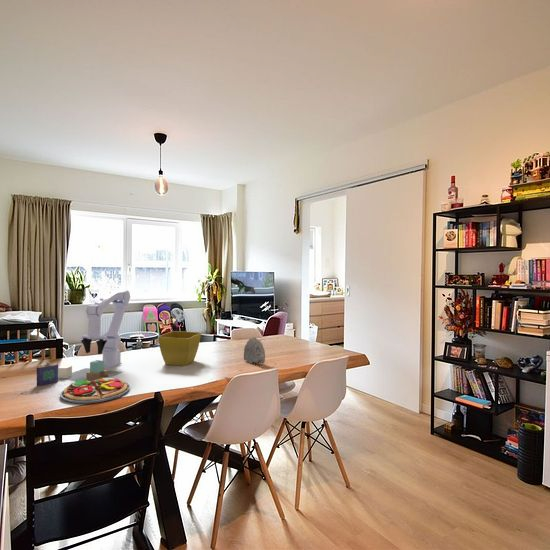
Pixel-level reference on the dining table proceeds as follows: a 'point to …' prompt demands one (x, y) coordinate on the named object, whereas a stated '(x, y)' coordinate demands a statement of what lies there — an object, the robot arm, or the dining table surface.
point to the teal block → (96, 366)
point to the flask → (47, 374)
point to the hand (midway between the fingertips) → (93, 353)
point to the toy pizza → (94, 390)
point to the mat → (82, 375)
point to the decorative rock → (254, 351)
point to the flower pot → (179, 347)
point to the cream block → (64, 371)
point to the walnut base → (97, 375)
